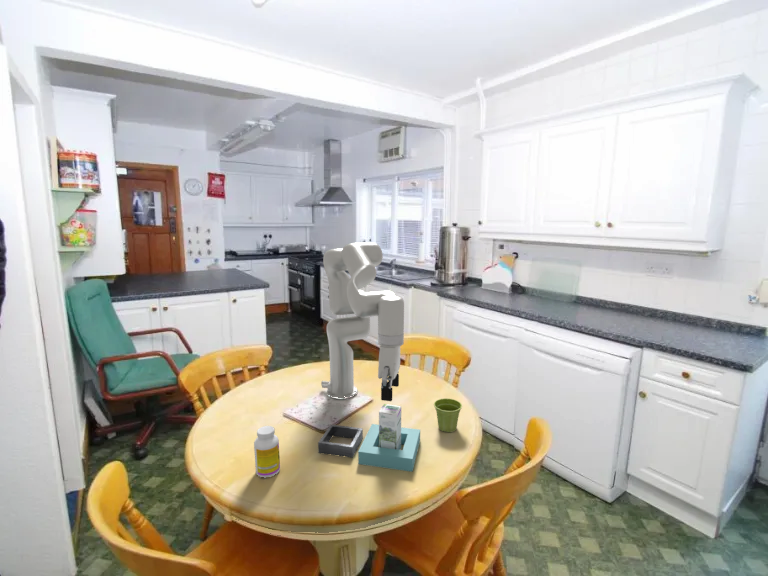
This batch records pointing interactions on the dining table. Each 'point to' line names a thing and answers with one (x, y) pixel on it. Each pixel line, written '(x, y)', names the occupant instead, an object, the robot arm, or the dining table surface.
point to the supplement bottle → (266, 452)
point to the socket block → (390, 450)
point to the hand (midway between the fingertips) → (390, 392)
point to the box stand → (337, 448)
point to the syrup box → (390, 427)
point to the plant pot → (447, 413)
